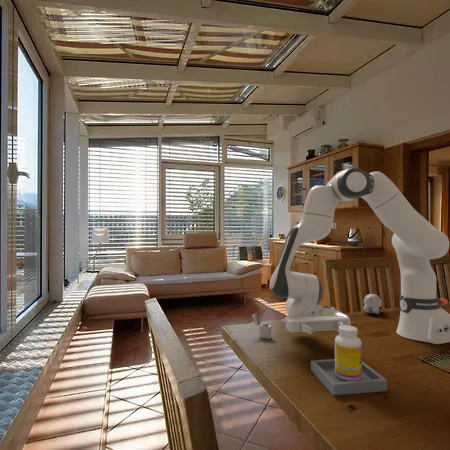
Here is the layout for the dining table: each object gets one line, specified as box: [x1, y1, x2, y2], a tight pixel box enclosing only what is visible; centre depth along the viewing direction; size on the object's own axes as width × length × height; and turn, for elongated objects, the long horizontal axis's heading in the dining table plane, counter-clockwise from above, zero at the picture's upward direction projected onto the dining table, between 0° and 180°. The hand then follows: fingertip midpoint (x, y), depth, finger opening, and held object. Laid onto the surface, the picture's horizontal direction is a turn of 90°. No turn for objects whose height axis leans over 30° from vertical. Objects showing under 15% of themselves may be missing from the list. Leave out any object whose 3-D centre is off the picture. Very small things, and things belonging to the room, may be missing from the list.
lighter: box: [251, 313, 272, 340], centre depth 123 cm, size 7×2×8 cm, turn 59°
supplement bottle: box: [334, 325, 363, 381], centre depth 89 cm, size 7×7×13 cm
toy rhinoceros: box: [362, 293, 382, 315], centre depth 153 cm, size 7×12×8 cm, turn 143°
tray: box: [310, 358, 388, 396], centre depth 89 cm, size 14×14×3 cm
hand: (327, 330), depth 100 cm, fingers open, 8 cm apart
